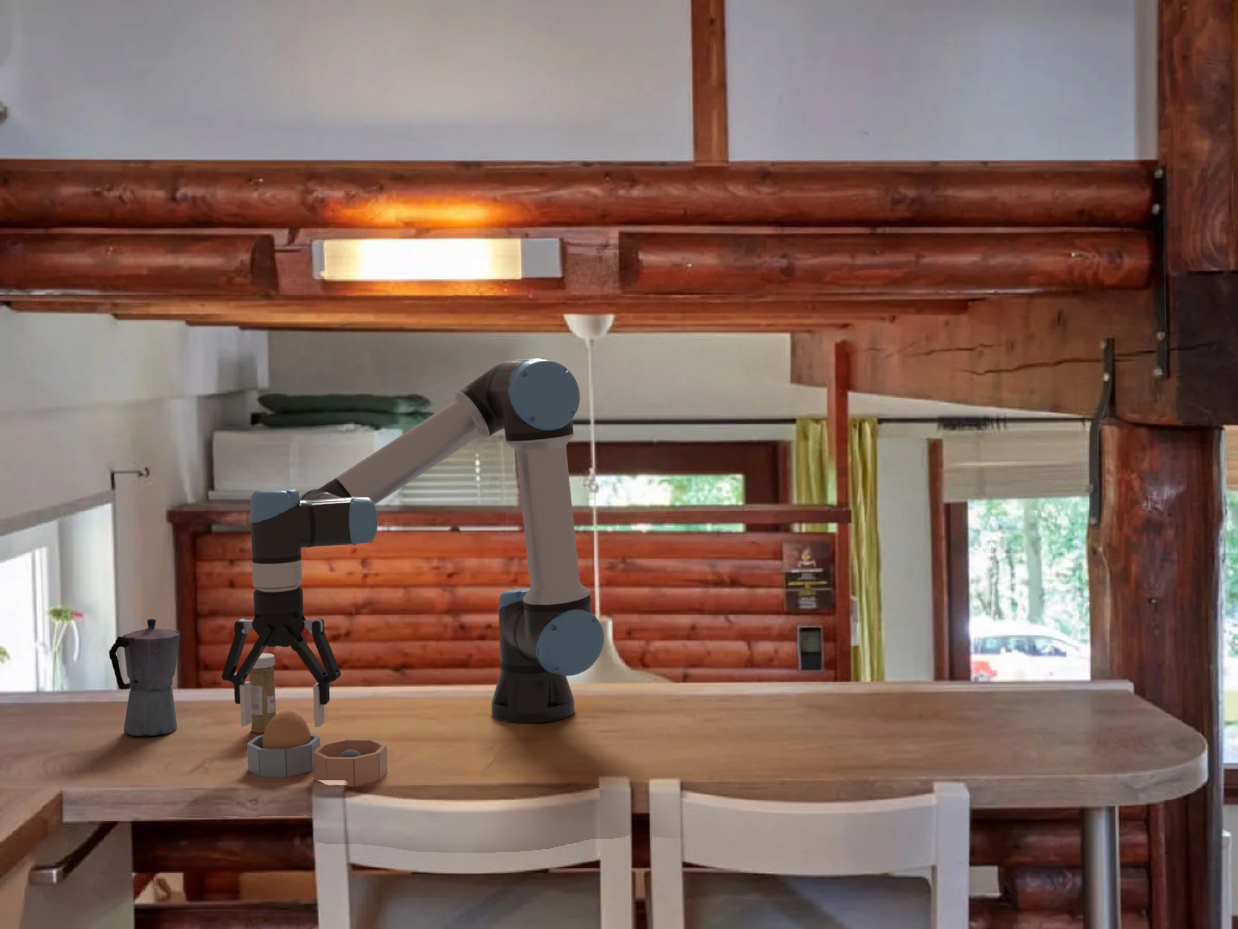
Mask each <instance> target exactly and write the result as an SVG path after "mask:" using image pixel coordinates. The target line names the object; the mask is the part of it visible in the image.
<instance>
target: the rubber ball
mask: <svg viewBox="0 0 1238 929" xmlns="http://www.w3.org/2000/svg"><path fill="white" fill-rule="evenodd" d="M357 756H362V755H361V753H360V752H358V751H356V750H353V749H349V750H346V751H344V752H342V753H341V754H340V756H339V757H357Z"/></svg>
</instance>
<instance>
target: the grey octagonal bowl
mask: <svg viewBox="0 0 1238 929" xmlns="http://www.w3.org/2000/svg"><path fill="white" fill-rule="evenodd" d="M320 745H321V736H319V735H318V734H317V735H316V734H315V733H313V732H310V742H309V743H308V744H305V745H301V746H296V747H291V748H287V749H264V748H263V734H261V735H257V736H255V737H254V738H253V739H251V740H249V742H247V744H246V746H247V747H246V748H247V749H246V752H247V770H248V772H251V773H252V774H254V775H256V776H258V777H259V778H260V777H261V778H270V777H271V778H286V777H287V778H289V777H292V776H297V775H298V776H299V775H302V774H306V773H310V772H314V764H313V752H314V751H315V750H316V749H317V748H318V747H319V746H320Z"/></svg>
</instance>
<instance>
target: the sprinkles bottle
mask: <svg viewBox="0 0 1238 929" xmlns="http://www.w3.org/2000/svg"><path fill="white" fill-rule="evenodd" d="M275 661H276V659H275V655H274V654H272V653H267V652H262V654H261V655H260V657H259V658H258V660H257V662H256V663H255V665H254V666H253V668H252V670H251V671H250V673H249V674H248V676H249V681H251V705H252V722H251V727H250V730H251V732H252V733H256V734H264V731H265V729H266V727H267V725H268V724H269V722H270V721H271V719H272V718H273V717H274V716H276V715H277V712H276V711H277V704H276V702H277V701H276V684H275V664H276V662H275Z"/></svg>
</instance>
